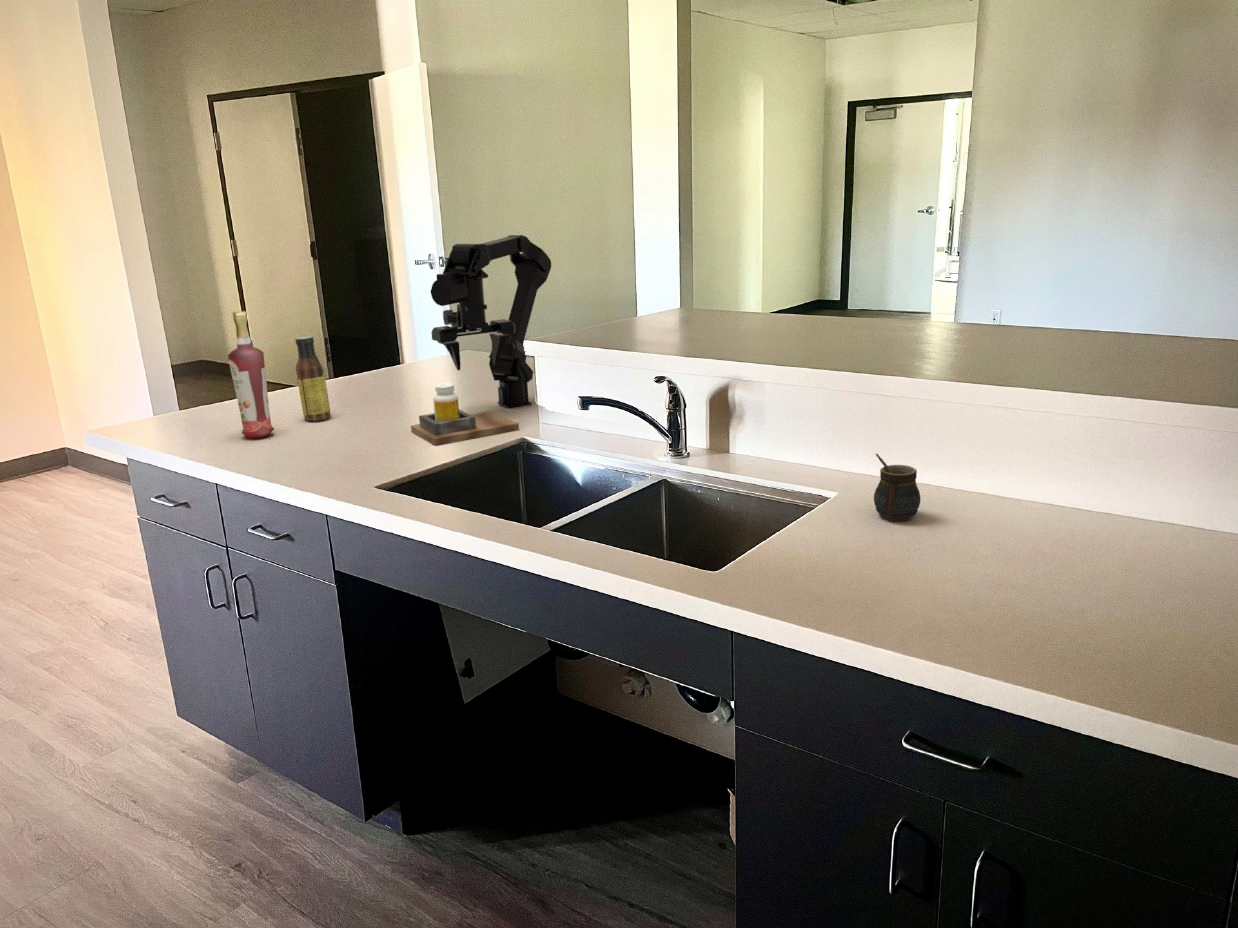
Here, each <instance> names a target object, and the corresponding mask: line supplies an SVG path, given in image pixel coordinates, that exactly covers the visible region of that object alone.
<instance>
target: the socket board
mask: <svg viewBox="0 0 1238 928" xmlns="http://www.w3.org/2000/svg"><path fill="white" fill-rule="evenodd" d="M459 417H460V419H455V420H449V421H443V422H436V421H435V412H433V413H428V414H421V415H419V416H418V419H419V423H418V424H412V425H410V429H411V430H410V431H411V433H412V434H414V435H415V436H418V437H419V438H420V439H423V440H424V441H426V442H428V443H429V444H431V445H432V446H435V447H436V446H441V445H446V444H451V443H457V442H462V441H467V440H472V439H479V438H483V437H488V436H493V435H498V434H504V433H510V432H514V431H519V430H520V425H519V422H517V421H515V420H513V419H509V418H508V417H507V416H506V417H505V416H503V415H502V414H501V415H500V414H498V413H496V412H494V411H492V410H491V411H486V412H485V411H484V412H480V413H475V414H474V413H473V414H469V413H467V412H465V411H464V410H461V409H459Z"/></svg>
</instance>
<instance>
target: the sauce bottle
mask: <svg viewBox="0 0 1238 928" xmlns="http://www.w3.org/2000/svg"><path fill="white" fill-rule="evenodd" d="M294 339H295V340H294V341H295V344H296V346H297V352H298V354H297V355H298V359H297V363H296V366H295V372H296V376H297V379H296V381H297V384H298V385H297V387H298V391H299V397H300V403H301V407H302V414H303V415H304V417H303V418H304V420H305V421H306V422H307V421H308V422H322V421H326V420H328V419H331V406H330V401H329V395H328V394H329V393H328V387H327V382H326V381H327V380H326V378H325V377H326V376H325V372H324V368H323V366H322V365H321V362H320V360H319V358H318V356H317V354H316V351H315V350H316V349H315V344H314V343H315V340H314V337H313V336H311V335H308V336H306V335H305V336H304V335H303V336H299V337H295V338H294Z"/></svg>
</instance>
